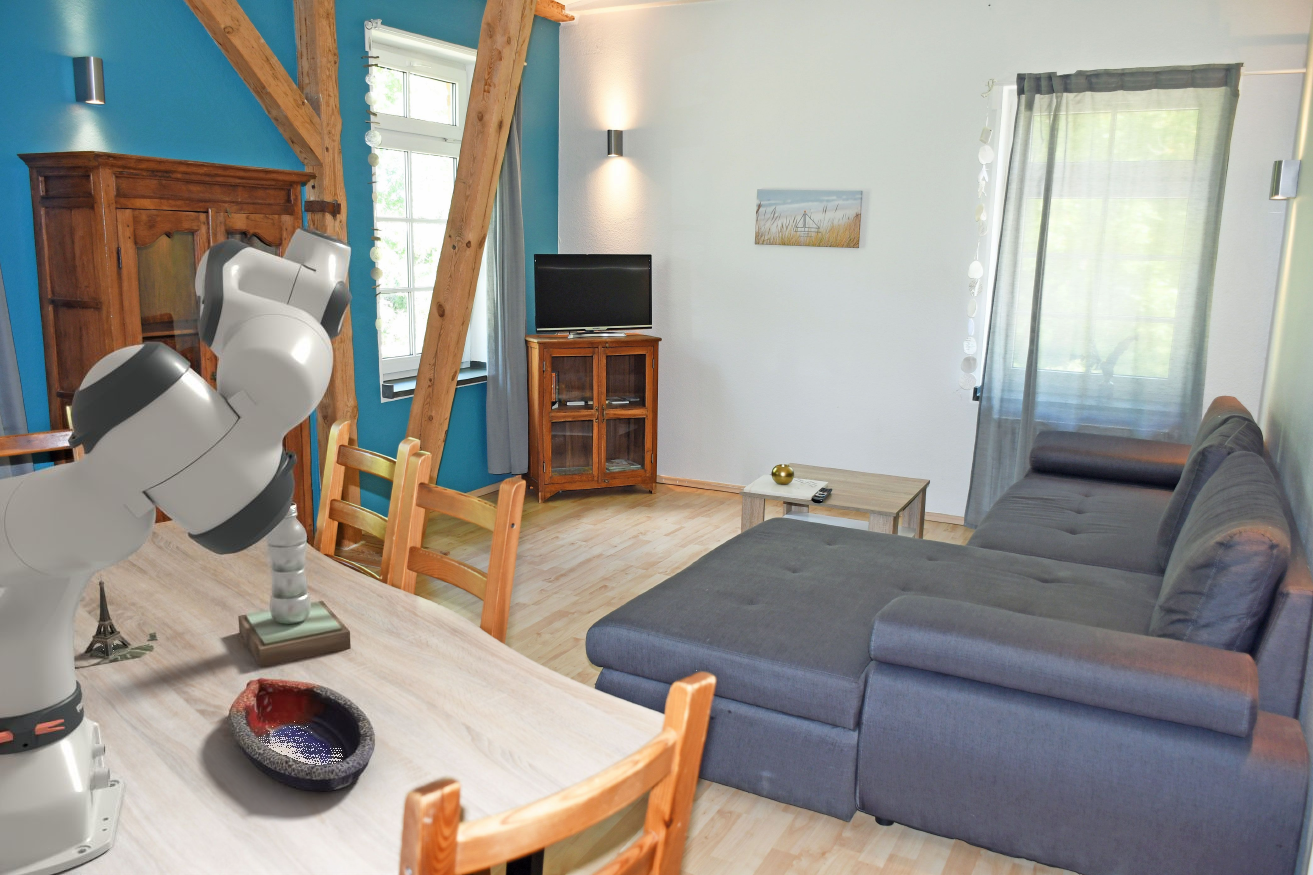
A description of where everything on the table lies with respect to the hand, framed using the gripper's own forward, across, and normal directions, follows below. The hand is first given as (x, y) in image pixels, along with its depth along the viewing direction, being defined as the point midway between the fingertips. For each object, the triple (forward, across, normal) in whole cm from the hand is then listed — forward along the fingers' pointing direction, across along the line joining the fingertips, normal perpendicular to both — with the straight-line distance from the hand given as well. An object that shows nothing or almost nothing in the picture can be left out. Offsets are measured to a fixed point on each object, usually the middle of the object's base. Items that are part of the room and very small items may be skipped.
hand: (265, 425), depth 141 cm
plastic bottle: (+36, +4, -14) cm, 39 cm away
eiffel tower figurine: (+49, +8, +11) cm, 51 cm away
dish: (+30, -32, -11) cm, 46 cm away
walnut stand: (+39, +3, -15) cm, 42 cm away
